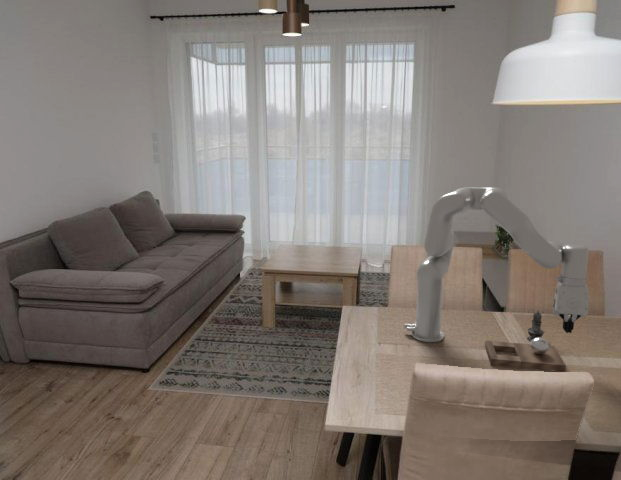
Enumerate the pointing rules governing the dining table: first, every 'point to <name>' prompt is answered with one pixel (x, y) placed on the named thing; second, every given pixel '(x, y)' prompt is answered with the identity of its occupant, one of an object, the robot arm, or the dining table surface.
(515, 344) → the board
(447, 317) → the dining table surface
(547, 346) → the ball
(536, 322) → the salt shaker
